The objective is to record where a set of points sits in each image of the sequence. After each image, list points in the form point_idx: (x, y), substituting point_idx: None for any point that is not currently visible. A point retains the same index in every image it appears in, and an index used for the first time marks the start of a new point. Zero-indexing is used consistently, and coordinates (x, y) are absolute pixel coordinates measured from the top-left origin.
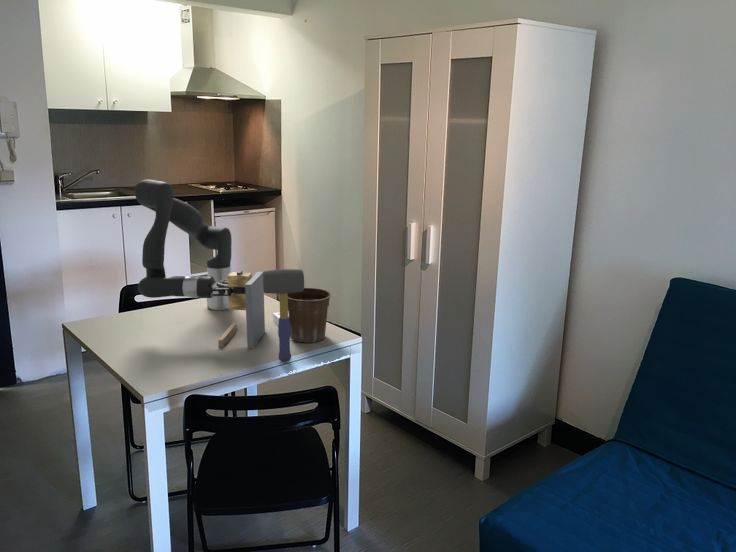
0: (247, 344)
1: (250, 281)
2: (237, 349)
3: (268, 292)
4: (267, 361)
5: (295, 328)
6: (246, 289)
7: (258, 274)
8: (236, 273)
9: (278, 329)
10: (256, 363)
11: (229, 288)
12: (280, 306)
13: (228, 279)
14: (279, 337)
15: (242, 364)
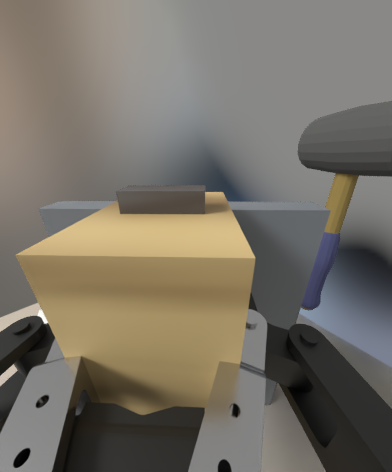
0: (271, 397)
1: (258, 206)
2: (297, 444)
3: None
4: (323, 332)
5: None
6: (318, 233)
7: (109, 204)
8: (131, 221)
9: (334, 257)
10: (351, 353)
11: (311, 334)
12: (347, 206)
13: (245, 300)
14: (329, 270)
15: (388, 389)
